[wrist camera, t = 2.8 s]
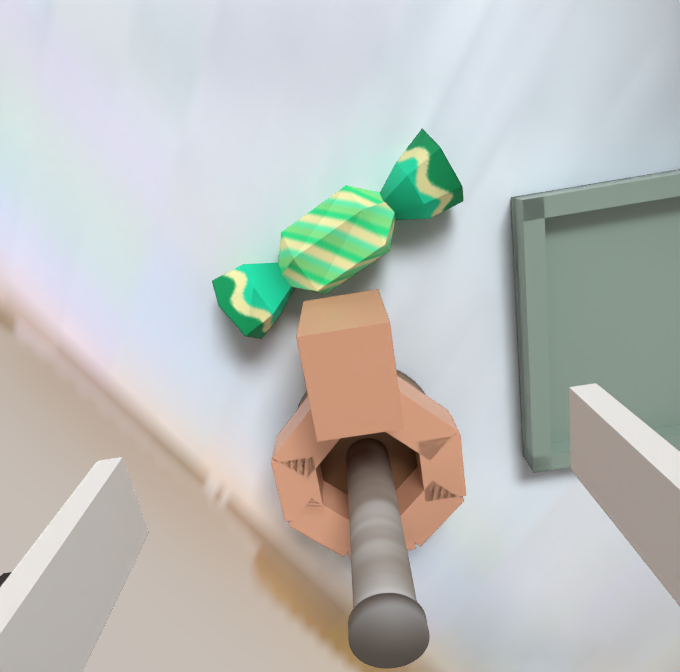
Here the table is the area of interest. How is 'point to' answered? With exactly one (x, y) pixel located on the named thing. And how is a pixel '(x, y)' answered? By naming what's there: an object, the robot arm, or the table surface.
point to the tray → (597, 305)
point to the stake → (378, 547)
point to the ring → (361, 424)
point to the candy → (339, 237)
